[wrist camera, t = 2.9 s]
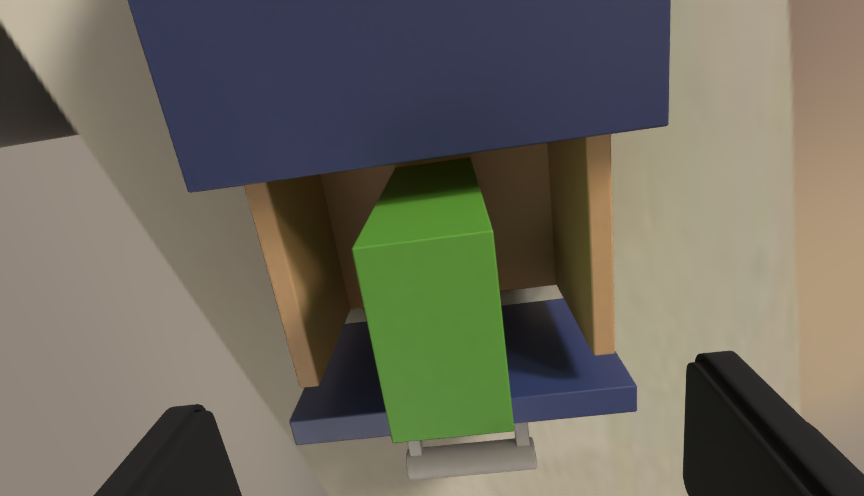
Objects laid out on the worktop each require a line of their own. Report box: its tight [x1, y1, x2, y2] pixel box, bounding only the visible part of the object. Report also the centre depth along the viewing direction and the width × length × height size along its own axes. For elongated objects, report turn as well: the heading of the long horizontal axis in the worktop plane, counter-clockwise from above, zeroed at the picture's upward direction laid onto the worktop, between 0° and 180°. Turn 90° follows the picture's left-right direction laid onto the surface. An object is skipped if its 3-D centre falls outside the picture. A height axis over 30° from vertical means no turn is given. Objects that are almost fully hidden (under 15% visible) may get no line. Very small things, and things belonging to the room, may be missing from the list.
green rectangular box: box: [352, 158, 514, 443], centre depth 18 cm, size 4×6×11 cm, turn 8°
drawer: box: [244, 134, 637, 481], centre depth 21 cm, size 18×13×8 cm
